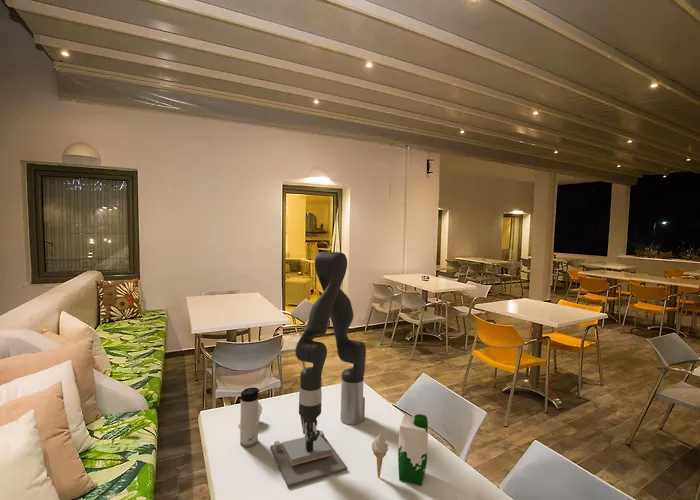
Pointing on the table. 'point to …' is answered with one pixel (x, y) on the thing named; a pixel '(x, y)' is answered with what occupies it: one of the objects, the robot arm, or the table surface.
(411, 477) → the milk carton
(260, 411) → the beige irregular lump
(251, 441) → the travel mug
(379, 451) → the ice cream cone
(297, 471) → the base
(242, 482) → the table surface
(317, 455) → the tile
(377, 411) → the table surface
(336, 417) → the table surface
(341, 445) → the table surface
